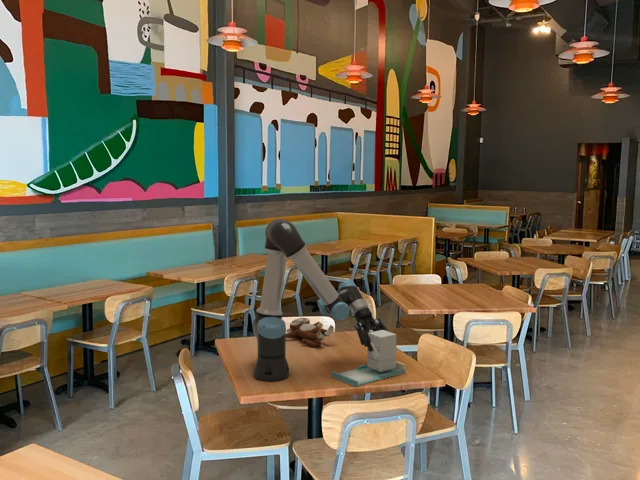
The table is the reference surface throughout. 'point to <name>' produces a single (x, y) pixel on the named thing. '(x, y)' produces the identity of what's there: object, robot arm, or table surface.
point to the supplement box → (382, 350)
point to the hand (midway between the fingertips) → (385, 355)
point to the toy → (308, 331)
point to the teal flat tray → (367, 374)
